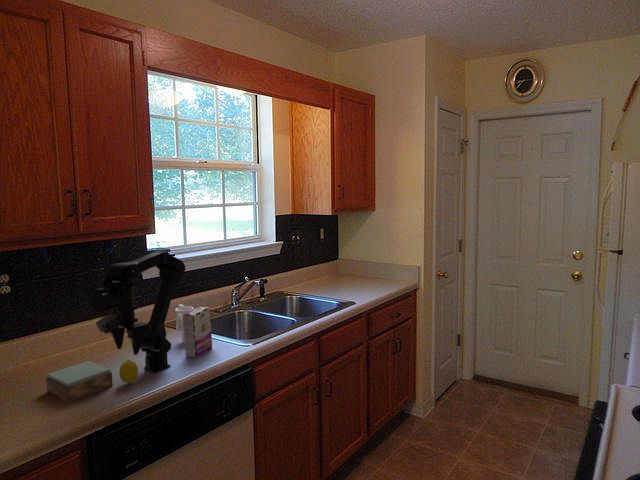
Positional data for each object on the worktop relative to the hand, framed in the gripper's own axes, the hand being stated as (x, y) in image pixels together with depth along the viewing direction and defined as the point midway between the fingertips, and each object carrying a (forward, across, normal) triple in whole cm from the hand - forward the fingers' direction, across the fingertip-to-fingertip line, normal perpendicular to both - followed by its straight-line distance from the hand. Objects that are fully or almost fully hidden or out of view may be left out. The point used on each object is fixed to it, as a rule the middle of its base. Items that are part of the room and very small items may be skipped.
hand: (127, 351), depth 149 cm
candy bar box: (+11, -4, +31) cm, 33 cm away
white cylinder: (+11, -18, +36) cm, 42 cm away
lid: (+6, -9, -11) cm, 16 cm away
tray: (+11, -10, -11) cm, 18 cm away
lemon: (+11, 0, 0) cm, 11 cm away
